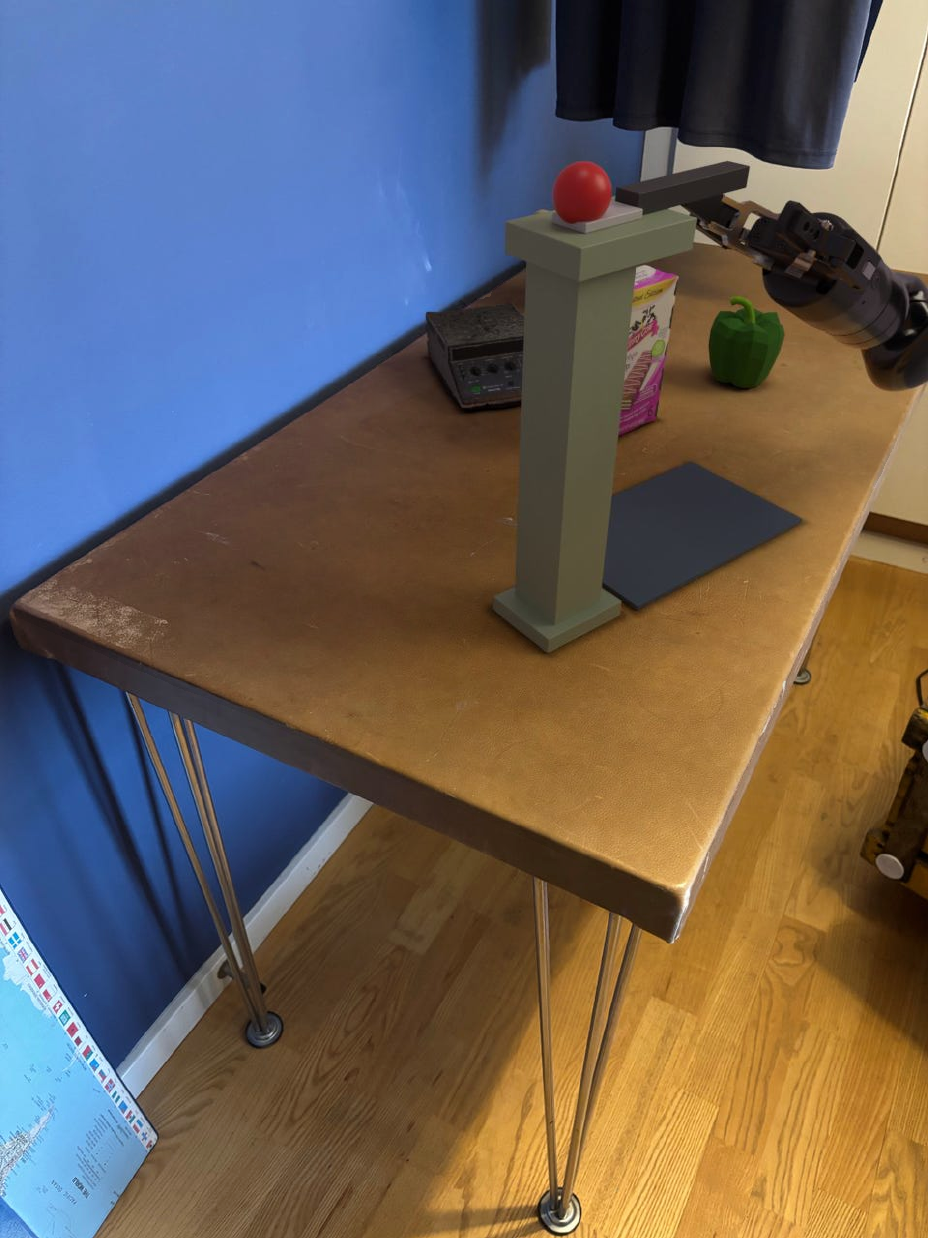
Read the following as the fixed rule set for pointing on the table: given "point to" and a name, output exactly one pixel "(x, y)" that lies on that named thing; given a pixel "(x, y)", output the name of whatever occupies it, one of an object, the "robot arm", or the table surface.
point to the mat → (682, 531)
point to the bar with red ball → (634, 193)
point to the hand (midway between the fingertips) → (734, 201)
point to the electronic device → (478, 354)
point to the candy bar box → (647, 346)
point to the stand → (573, 412)
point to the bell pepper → (744, 344)
